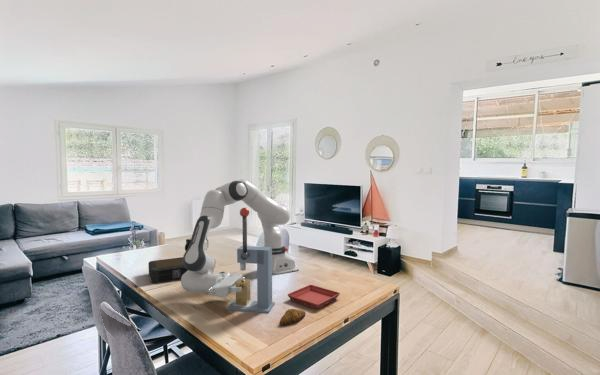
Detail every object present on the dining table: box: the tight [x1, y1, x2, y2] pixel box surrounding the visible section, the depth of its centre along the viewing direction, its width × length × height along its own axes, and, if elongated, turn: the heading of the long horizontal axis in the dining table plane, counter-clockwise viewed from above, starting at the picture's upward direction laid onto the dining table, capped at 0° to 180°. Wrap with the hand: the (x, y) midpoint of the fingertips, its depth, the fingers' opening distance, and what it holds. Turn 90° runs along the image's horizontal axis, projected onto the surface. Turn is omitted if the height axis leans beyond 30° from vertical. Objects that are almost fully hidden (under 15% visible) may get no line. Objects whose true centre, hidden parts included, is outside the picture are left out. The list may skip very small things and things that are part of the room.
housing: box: [235, 276, 251, 306], centre depth 148 cm, size 5×5×12 cm
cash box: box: [148, 256, 187, 284], centre depth 189 cm, size 25×20×8 cm
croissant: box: [279, 308, 306, 326], centre depth 134 cm, size 14×7×5 cm, turn 135°
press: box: [225, 245, 275, 314], centre depth 146 cm, size 19×10×26 cm, turn 80°
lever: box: [239, 207, 250, 260], centre depth 140 cm, size 4×4×22 cm
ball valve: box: [184, 236, 209, 252], centre depth 215 cm, size 18×8×18 cm, turn 168°
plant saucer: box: [287, 284, 341, 310], centre depth 154 cm, size 18×18×3 cm
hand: (245, 285), depth 148 cm, fingers open, 7 cm apart
